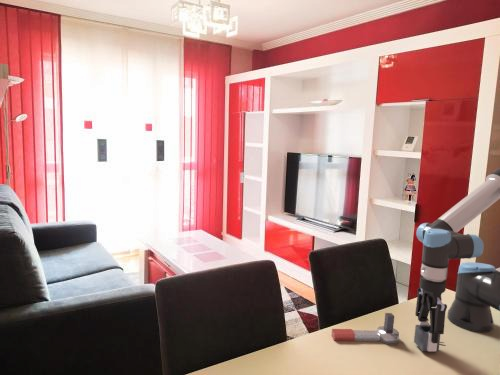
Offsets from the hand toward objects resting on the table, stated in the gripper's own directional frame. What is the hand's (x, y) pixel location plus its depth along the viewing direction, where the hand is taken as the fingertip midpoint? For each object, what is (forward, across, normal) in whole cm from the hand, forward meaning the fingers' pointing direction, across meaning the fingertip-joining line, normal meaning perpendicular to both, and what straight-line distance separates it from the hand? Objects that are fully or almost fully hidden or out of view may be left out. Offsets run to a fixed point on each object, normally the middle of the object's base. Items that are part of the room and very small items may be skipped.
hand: (426, 345), depth 122 cm
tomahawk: (+2, -12, +9) cm, 16 cm away
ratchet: (+1, -6, -18) cm, 19 cm away
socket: (0, 0, 0) cm, 0 cm away
